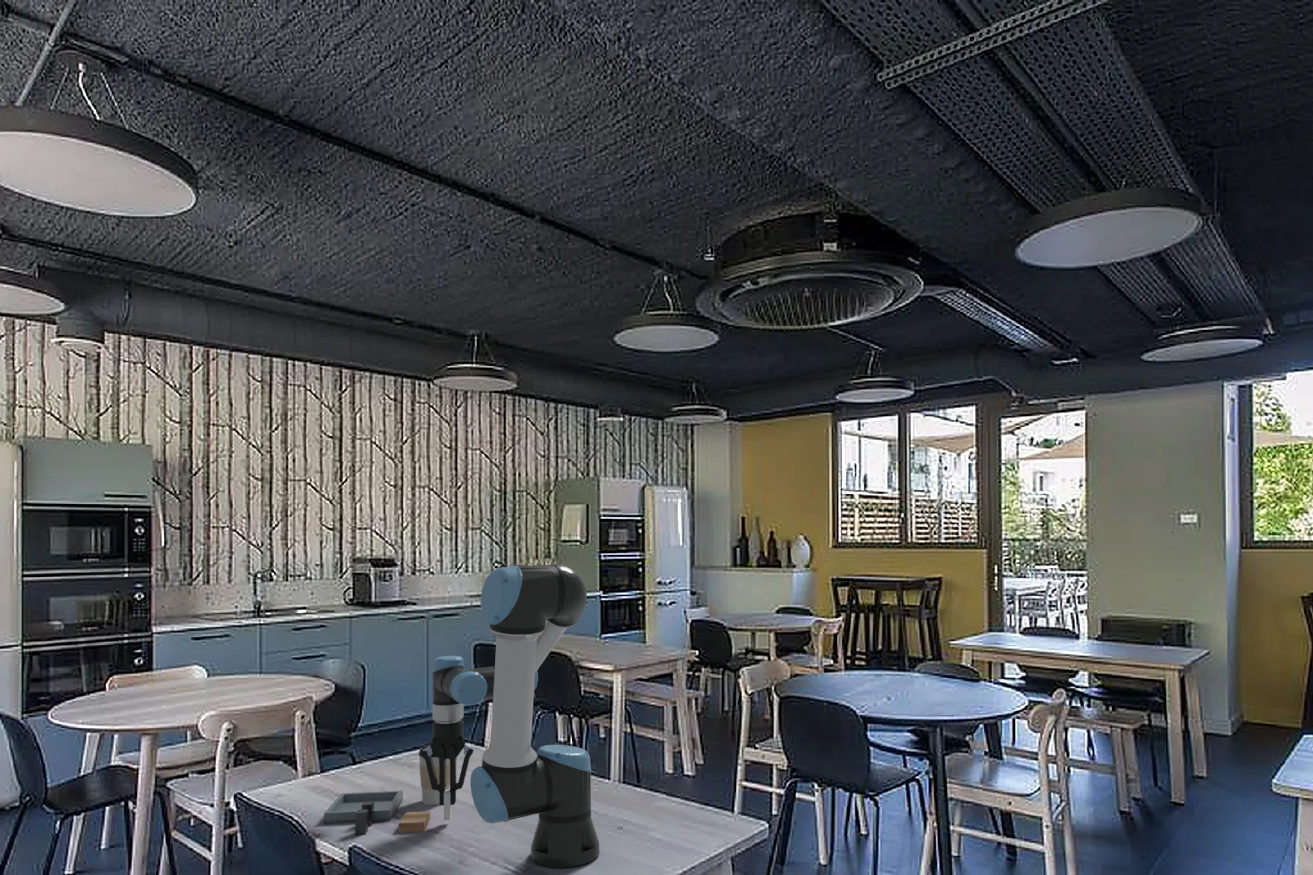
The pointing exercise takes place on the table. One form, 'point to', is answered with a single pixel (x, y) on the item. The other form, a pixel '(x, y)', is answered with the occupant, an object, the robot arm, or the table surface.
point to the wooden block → (414, 822)
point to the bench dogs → (364, 818)
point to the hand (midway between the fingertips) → (447, 818)
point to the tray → (352, 802)
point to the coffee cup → (427, 792)
